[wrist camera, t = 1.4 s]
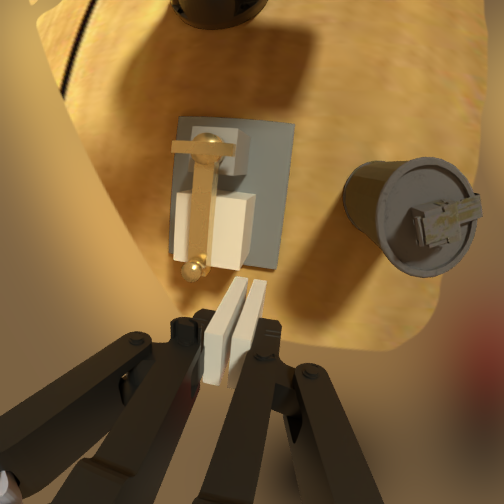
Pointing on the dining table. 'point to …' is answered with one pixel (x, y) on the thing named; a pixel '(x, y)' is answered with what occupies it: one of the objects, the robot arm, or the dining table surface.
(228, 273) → the dining table surface
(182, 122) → the latch base
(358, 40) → the dining table surface
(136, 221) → the dining table surface
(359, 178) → the canister
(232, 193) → the cover
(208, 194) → the latch bar
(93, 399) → the robot arm
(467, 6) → the dining table surface
